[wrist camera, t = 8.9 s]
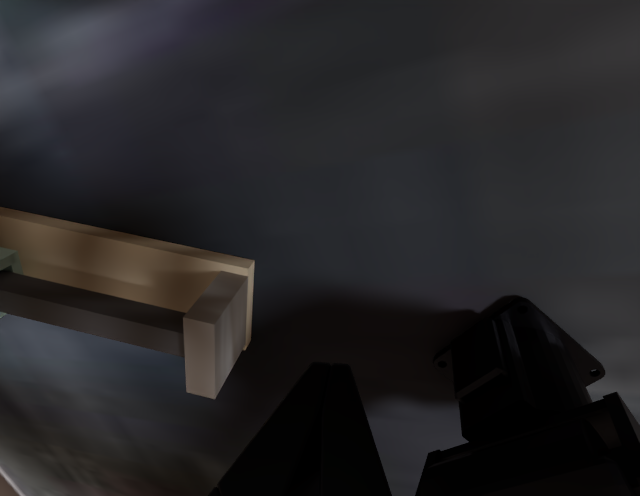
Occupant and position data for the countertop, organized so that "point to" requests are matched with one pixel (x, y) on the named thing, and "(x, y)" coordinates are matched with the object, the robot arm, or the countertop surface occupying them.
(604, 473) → the robot arm
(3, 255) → the grey-green notched block
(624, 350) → the countertop surface
